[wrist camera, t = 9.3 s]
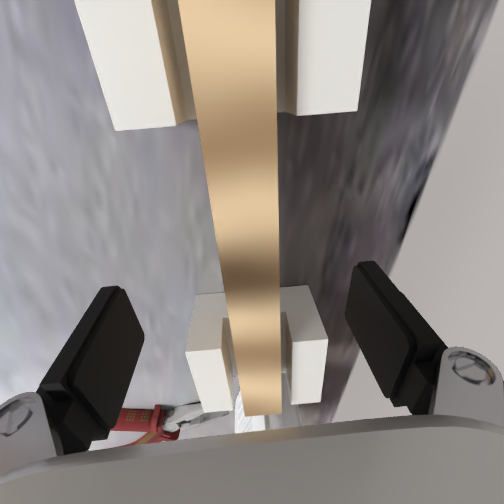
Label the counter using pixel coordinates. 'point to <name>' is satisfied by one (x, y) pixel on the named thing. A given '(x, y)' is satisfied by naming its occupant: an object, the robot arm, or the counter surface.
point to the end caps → (183, 108)
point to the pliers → (163, 422)
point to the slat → (242, 176)
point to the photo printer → (268, 422)
